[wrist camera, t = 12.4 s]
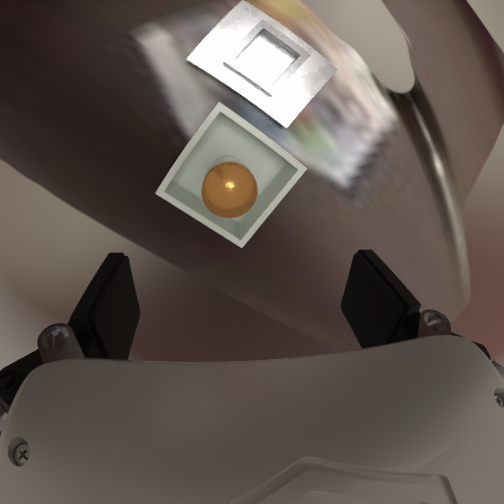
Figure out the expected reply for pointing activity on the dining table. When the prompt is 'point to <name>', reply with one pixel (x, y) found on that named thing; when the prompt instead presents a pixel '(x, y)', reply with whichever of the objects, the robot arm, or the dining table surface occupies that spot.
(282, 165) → the bin
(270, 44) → the white base with recess
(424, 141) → the dining table surface
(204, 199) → the copper-capped metal peg
